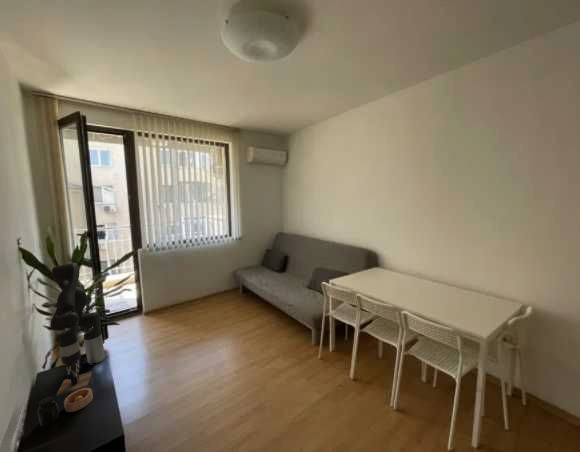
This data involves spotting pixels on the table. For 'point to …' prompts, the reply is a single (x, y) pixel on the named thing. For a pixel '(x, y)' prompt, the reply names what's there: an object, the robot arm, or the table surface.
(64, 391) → the lid
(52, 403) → the supplement bottle
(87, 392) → the bowl
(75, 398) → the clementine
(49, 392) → the table surface
